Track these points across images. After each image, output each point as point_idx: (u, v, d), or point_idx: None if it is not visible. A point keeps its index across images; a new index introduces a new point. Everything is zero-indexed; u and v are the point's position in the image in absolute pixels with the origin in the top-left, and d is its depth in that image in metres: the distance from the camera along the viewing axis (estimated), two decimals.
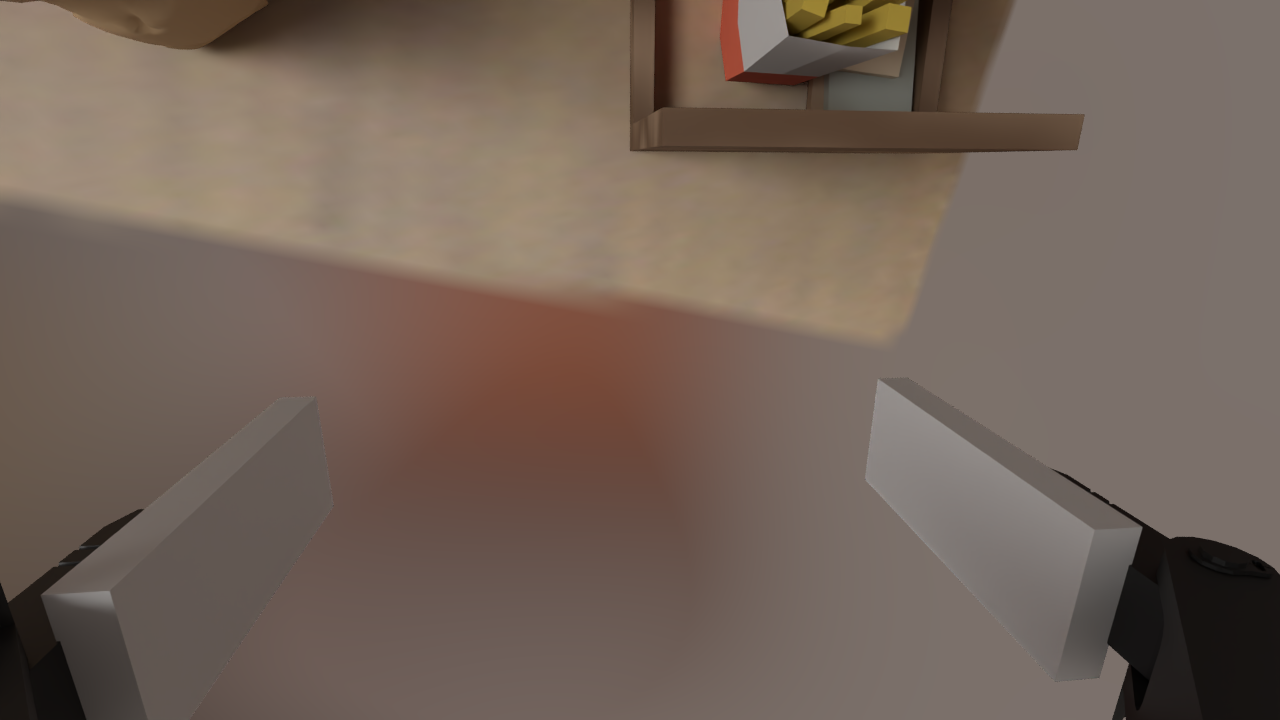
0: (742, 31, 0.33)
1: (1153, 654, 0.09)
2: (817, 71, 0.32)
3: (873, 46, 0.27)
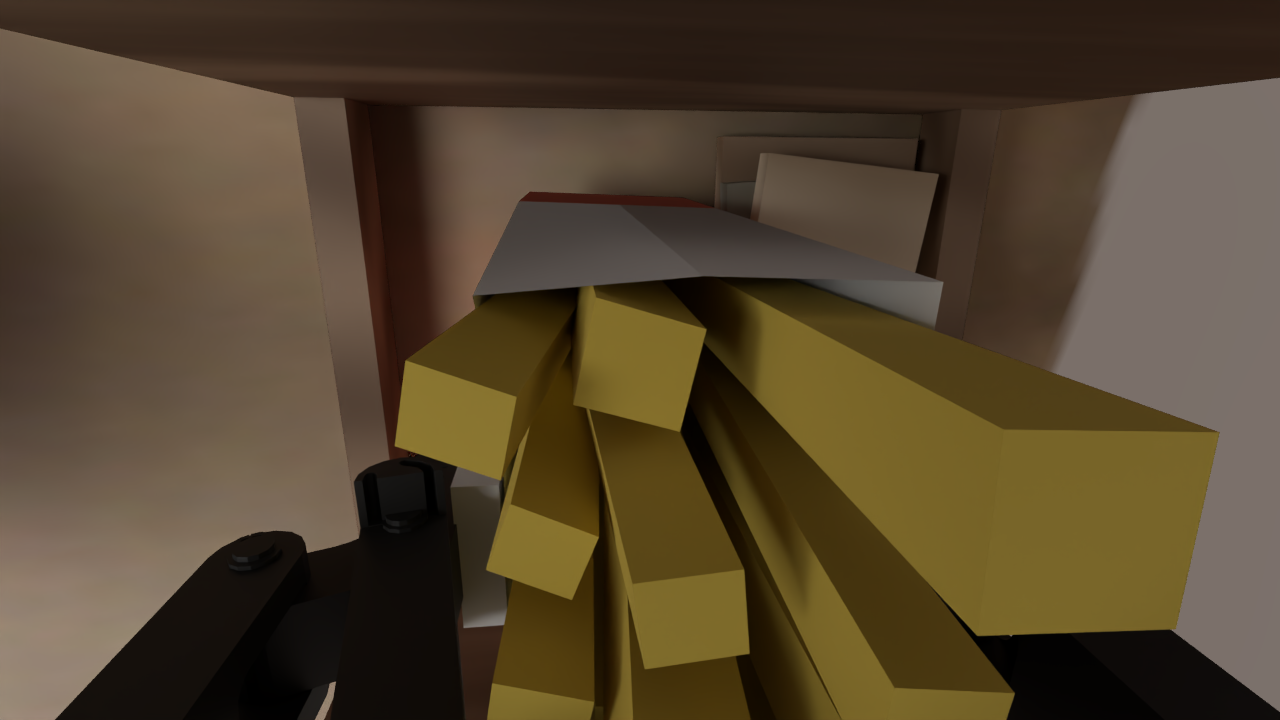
0: None
1: None
2: None
3: None
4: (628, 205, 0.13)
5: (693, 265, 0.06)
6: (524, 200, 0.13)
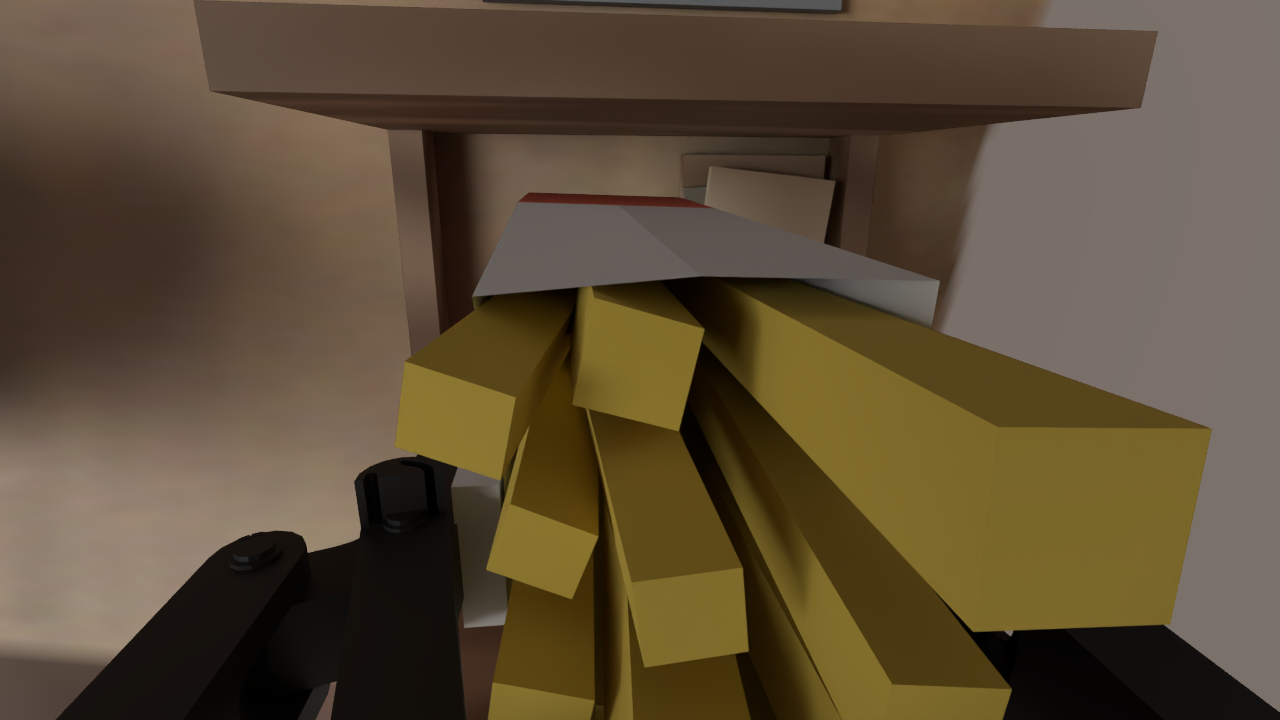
0: None
1: None
2: None
3: None
4: (627, 205, 0.13)
5: (691, 265, 0.06)
6: (523, 201, 0.13)
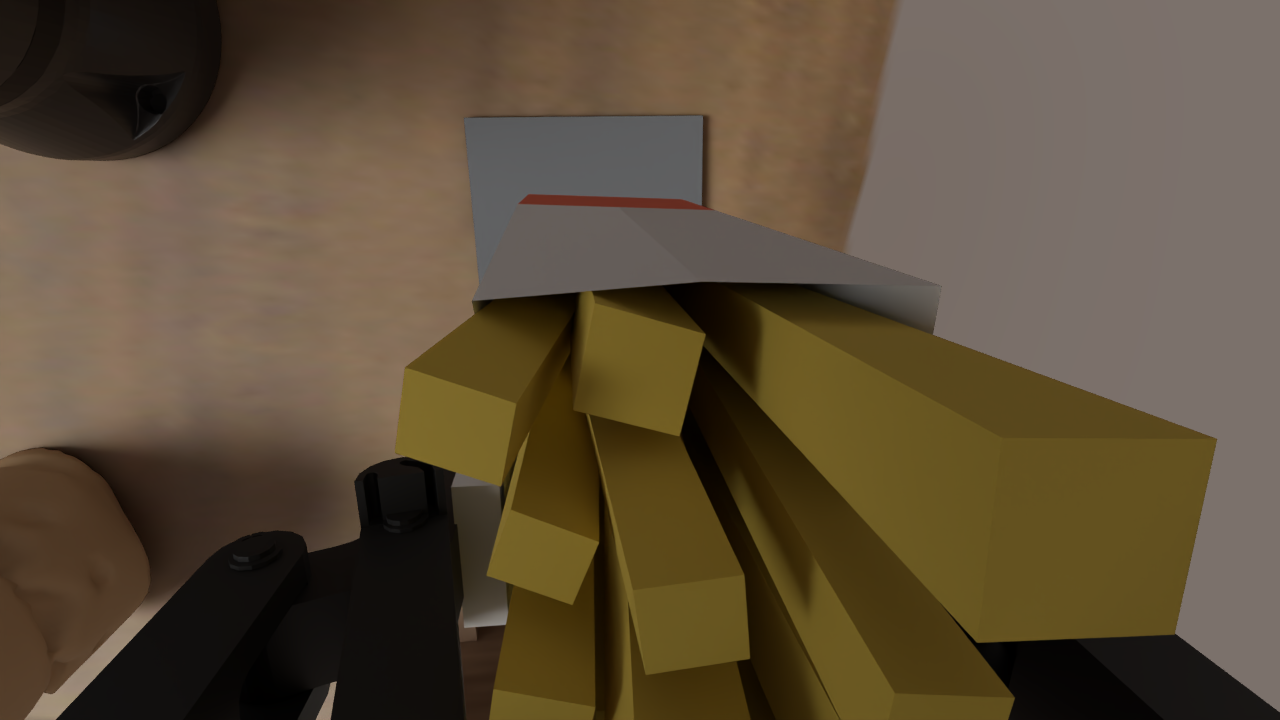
0: None
1: None
2: None
3: None
4: (626, 207, 0.13)
5: (692, 270, 0.06)
6: (522, 203, 0.13)
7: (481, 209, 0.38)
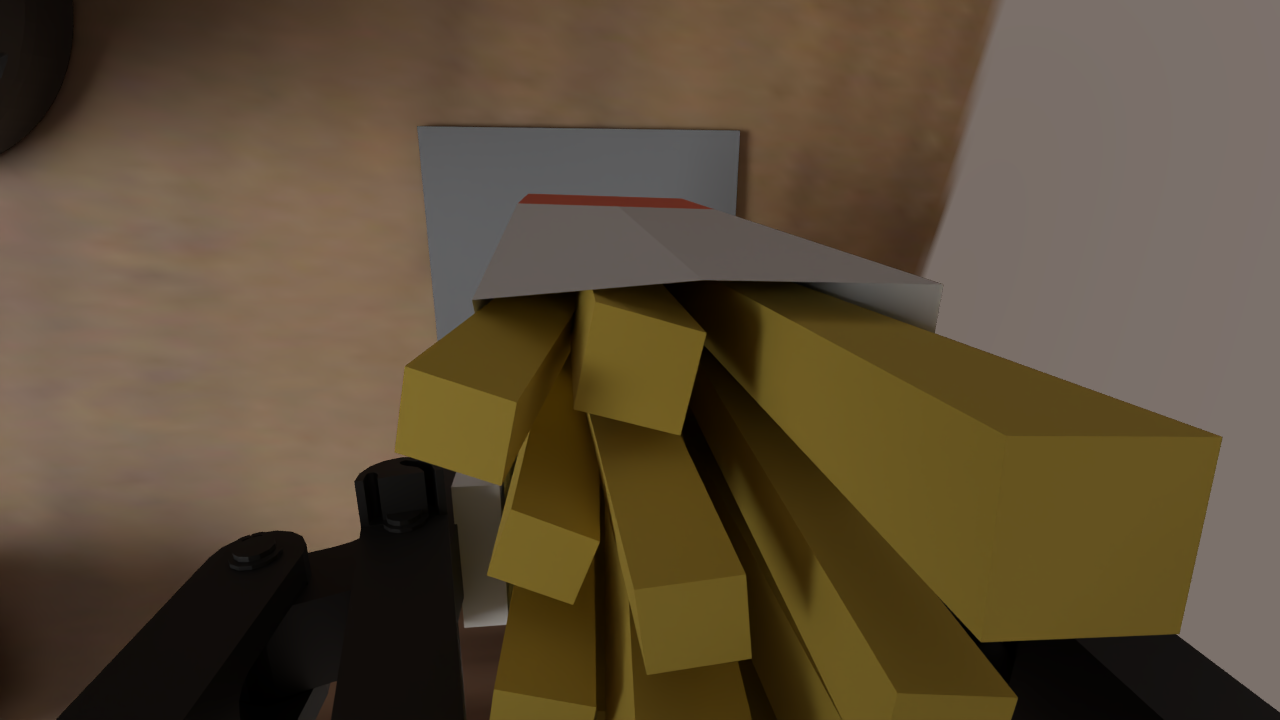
0: None
1: None
2: None
3: None
4: (627, 207, 0.13)
5: (693, 269, 0.05)
6: (523, 202, 0.13)
7: (440, 248, 0.28)
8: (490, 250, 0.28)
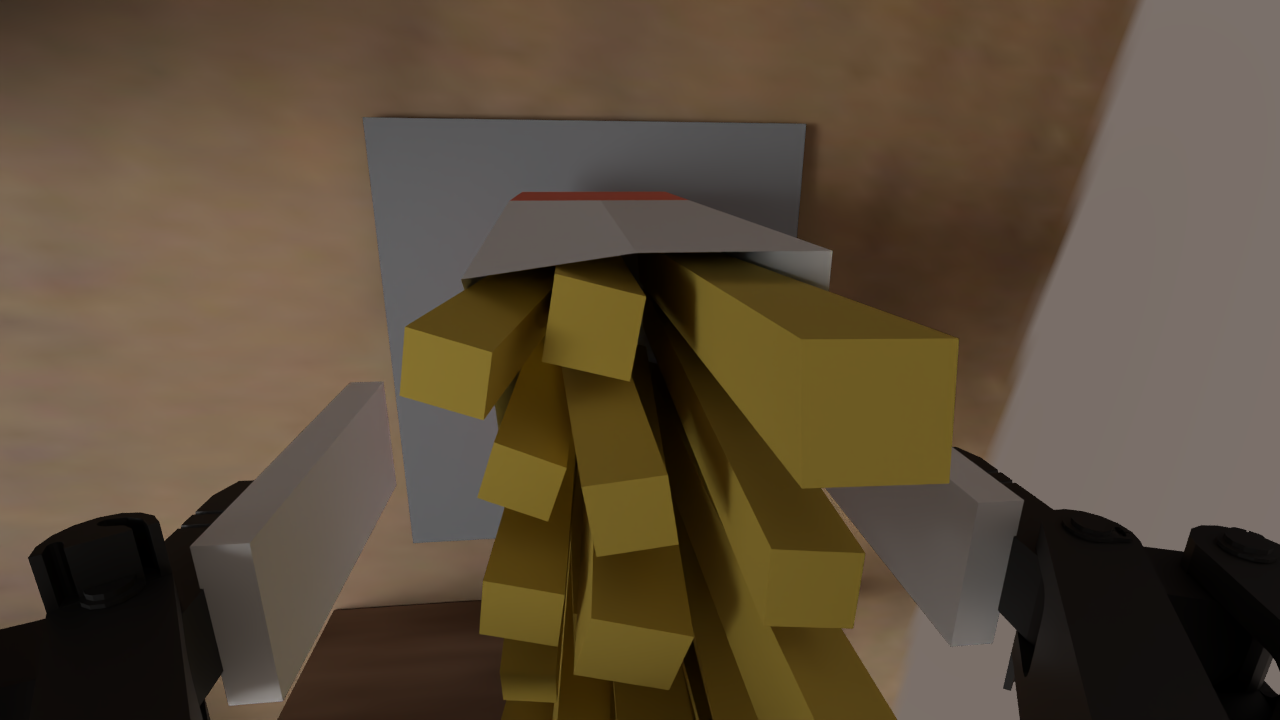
0: None
1: (1036, 622, 0.09)
2: None
3: None
4: (608, 200, 0.14)
5: (634, 245, 0.07)
6: (514, 199, 0.14)
7: (398, 284, 0.21)
8: None
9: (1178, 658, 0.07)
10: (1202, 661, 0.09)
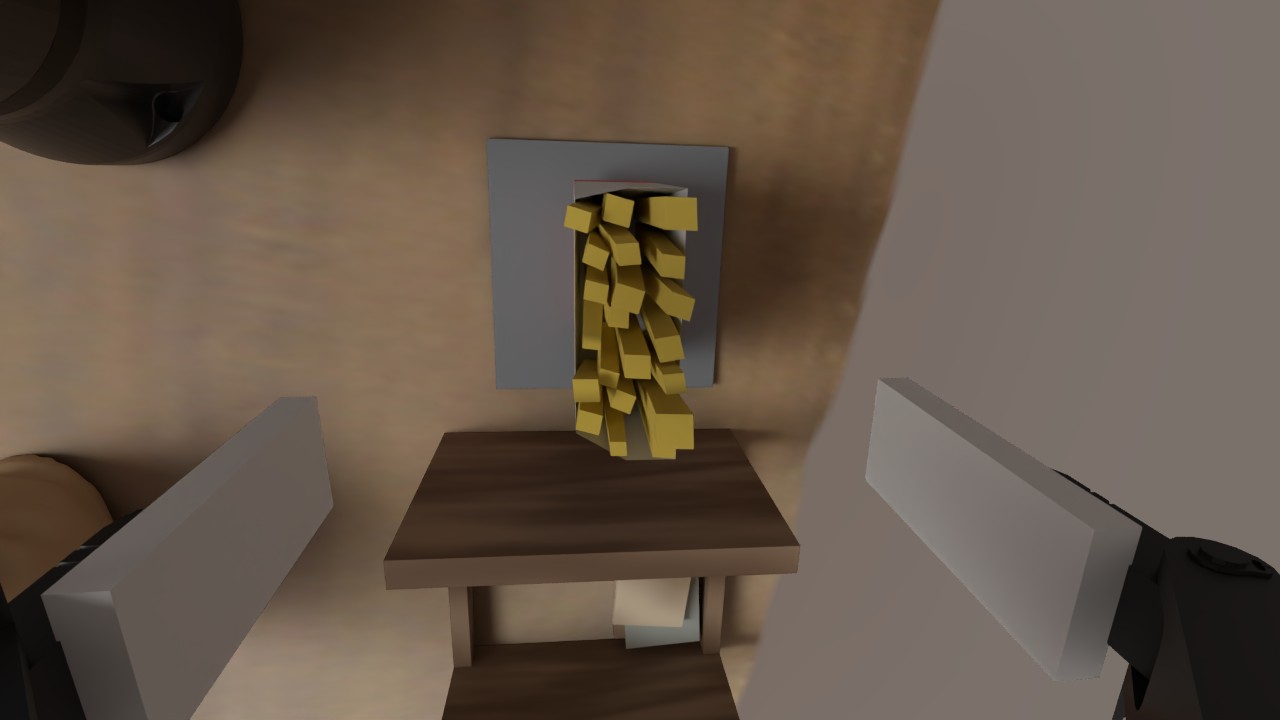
0: None
1: (1153, 654, 0.09)
2: None
3: None
4: None
5: (631, 186, 0.23)
6: None
7: (498, 231, 0.37)
8: (536, 233, 0.37)
9: None
10: None
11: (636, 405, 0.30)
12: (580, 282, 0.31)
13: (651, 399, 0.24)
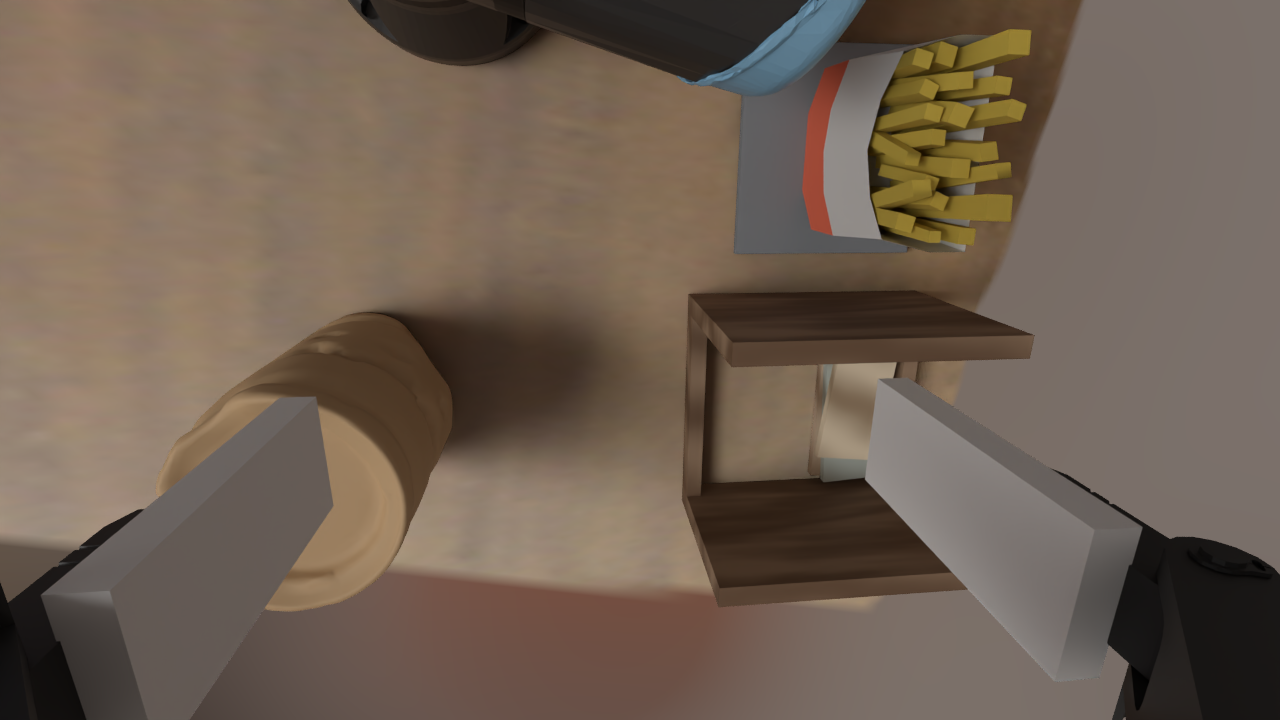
0: (829, 202, 0.43)
1: (1152, 654, 0.09)
2: None
3: None
4: None
5: (955, 36, 0.32)
6: (849, 60, 0.39)
7: (749, 118, 0.46)
8: (778, 120, 0.46)
9: None
10: None
11: None
12: None
13: (965, 195, 0.33)
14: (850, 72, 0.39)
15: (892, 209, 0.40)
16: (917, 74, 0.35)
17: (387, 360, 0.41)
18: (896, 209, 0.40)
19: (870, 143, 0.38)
